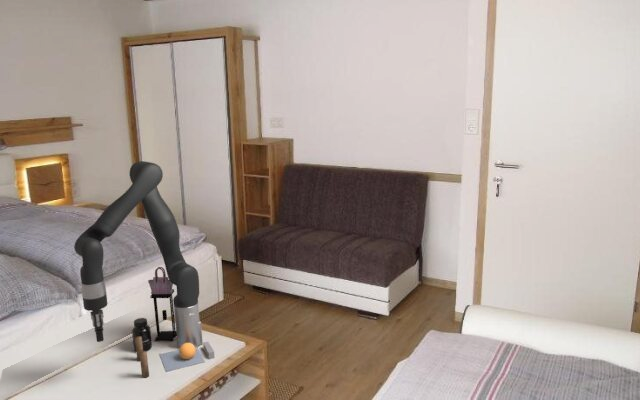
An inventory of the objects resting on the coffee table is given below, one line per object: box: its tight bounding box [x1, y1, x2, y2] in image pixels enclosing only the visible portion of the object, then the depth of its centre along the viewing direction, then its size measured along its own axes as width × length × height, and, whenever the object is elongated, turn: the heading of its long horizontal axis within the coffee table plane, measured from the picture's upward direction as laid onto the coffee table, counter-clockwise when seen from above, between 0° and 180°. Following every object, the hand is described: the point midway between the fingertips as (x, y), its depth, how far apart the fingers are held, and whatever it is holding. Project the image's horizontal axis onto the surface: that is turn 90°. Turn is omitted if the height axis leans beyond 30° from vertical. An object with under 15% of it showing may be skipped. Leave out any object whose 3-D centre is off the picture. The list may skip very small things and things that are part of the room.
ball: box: [178, 343, 196, 359], centre depth 196 cm, size 6×6×6 cm
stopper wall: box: [202, 341, 215, 360], centre depth 200 cm, size 2×9×2 cm, turn 26°
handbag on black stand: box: [147, 266, 177, 342], centre depth 211 cm, size 10×8×30 cm
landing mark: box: [159, 347, 206, 373], centre depth 197 cm, size 14×14×1 cm
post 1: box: [135, 336, 143, 363], centre depth 195 cm, size 2×2×9 cm
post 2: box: [140, 351, 150, 379], centre depth 184 cm, size 2×2×9 cm
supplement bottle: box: [131, 317, 153, 352], centre depth 203 cm, size 7×7×12 cm
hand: (100, 340), depth 182 cm, fingers closed
